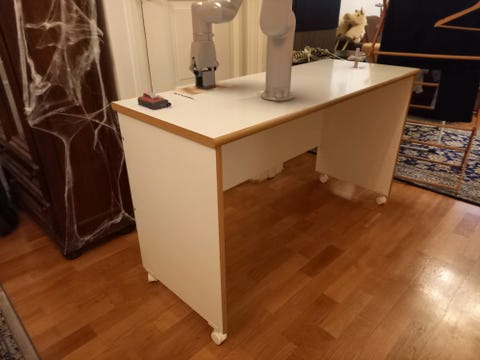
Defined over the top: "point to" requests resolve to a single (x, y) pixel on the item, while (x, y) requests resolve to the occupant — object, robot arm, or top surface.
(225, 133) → the top surface
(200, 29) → the robot arm
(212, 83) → the block
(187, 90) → the board
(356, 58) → the pipe connector
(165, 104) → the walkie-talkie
